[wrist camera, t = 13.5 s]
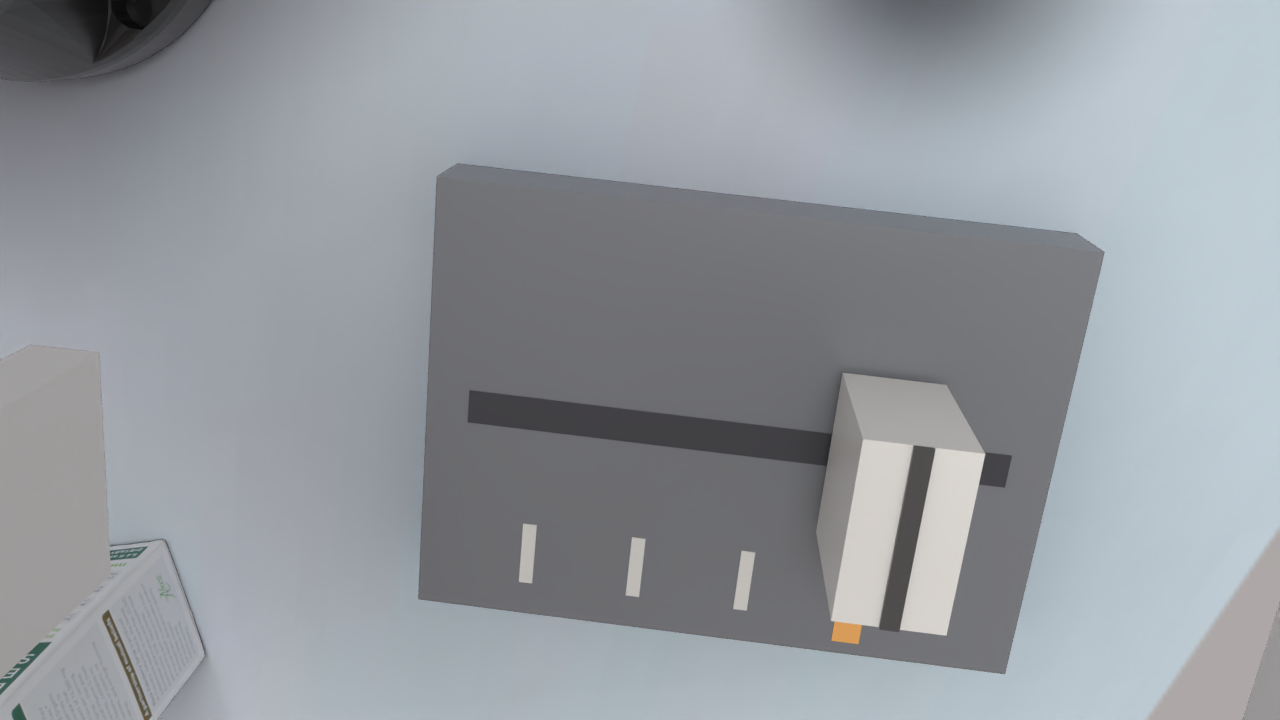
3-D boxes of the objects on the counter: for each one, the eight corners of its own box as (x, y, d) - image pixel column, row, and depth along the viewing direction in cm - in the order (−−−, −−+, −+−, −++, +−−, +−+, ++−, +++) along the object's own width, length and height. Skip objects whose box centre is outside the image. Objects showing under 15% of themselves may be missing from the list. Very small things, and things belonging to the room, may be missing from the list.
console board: (437, 561, 45) (418, 600, 42) (457, 163, 40) (436, 176, 37) (987, 630, 44) (1005, 674, 42) (1077, 233, 39) (1105, 252, 36)
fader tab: (815, 531, 40) (831, 623, 34) (842, 372, 38) (863, 441, 32) (915, 543, 40) (947, 638, 34) (946, 384, 38) (986, 455, 32)
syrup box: (167, 534, 46) (-73, 765, 32) (211, 659, 47) (2, 929, 34) (40, 554, 47) (-249, 788, 33) (88, 676, 48) (-167, 948, 34)
